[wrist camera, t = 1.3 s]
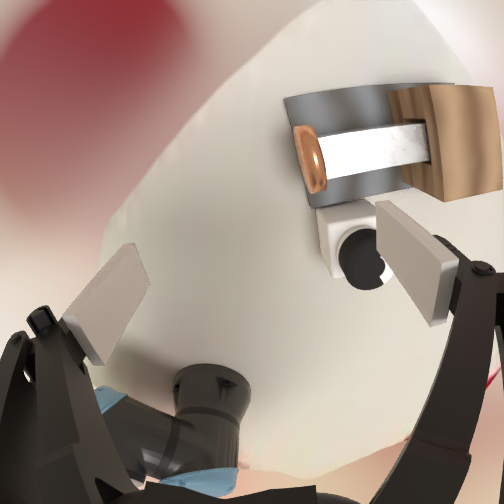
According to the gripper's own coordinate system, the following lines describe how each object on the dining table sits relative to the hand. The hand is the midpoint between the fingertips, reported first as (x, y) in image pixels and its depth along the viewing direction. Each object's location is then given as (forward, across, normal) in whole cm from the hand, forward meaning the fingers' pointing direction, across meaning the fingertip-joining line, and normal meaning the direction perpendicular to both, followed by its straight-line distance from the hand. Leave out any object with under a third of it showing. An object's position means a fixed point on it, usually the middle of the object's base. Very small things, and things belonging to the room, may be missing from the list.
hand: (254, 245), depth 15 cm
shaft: (+19, -13, -2) cm, 23 cm away
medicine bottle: (+23, -10, +10) cm, 26 cm away
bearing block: (+23, -18, -2) cm, 29 cm away
